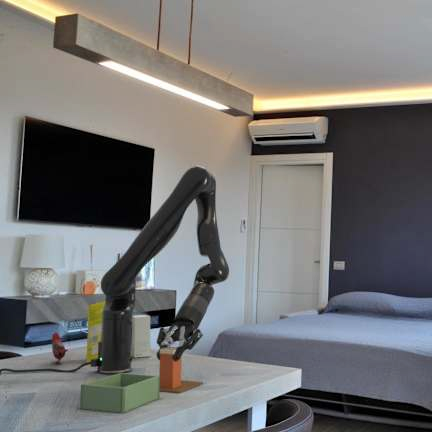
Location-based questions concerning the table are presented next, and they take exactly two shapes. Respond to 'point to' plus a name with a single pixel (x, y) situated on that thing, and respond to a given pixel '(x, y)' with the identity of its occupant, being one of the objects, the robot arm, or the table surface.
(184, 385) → the cork mat
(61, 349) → the decorative bird figurine
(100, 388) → the bin
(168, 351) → the tea packet
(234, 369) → the table surface
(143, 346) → the cosmetic box
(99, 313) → the food package
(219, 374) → the table surface
